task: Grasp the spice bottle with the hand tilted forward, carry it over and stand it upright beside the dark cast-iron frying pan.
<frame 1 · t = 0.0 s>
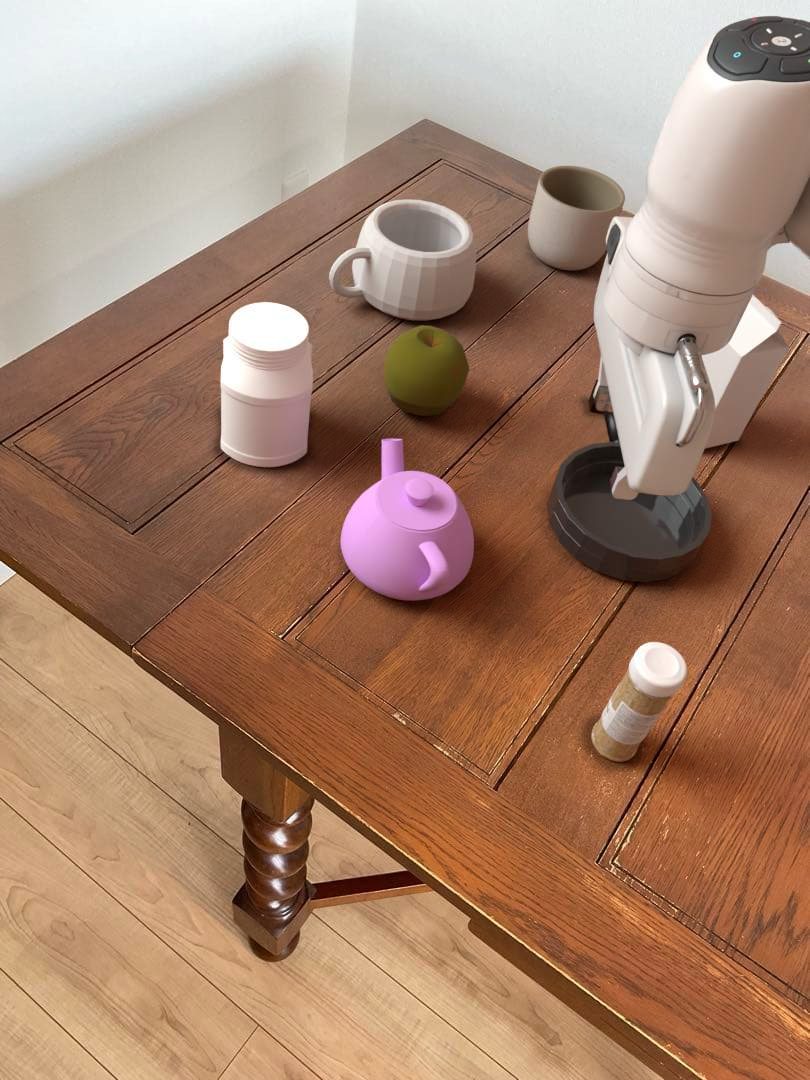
hand: (612, 447, 73), 29 cm above the table, tool pointing down, fingers open, 8 cm apart
milk carton: (698, 429, 123), on the table
planter: (561, 256, 145), on the table
pan: (621, 524, 110), on the table
pan handle: (604, 437, 119), on the table
mug: (395, 295, 132), on the table
jar: (264, 433, 111), on the table
apple: (418, 404, 118), on the table
spice bottle: (612, 743, 91), on the table
teapot: (402, 552, 102), on the table
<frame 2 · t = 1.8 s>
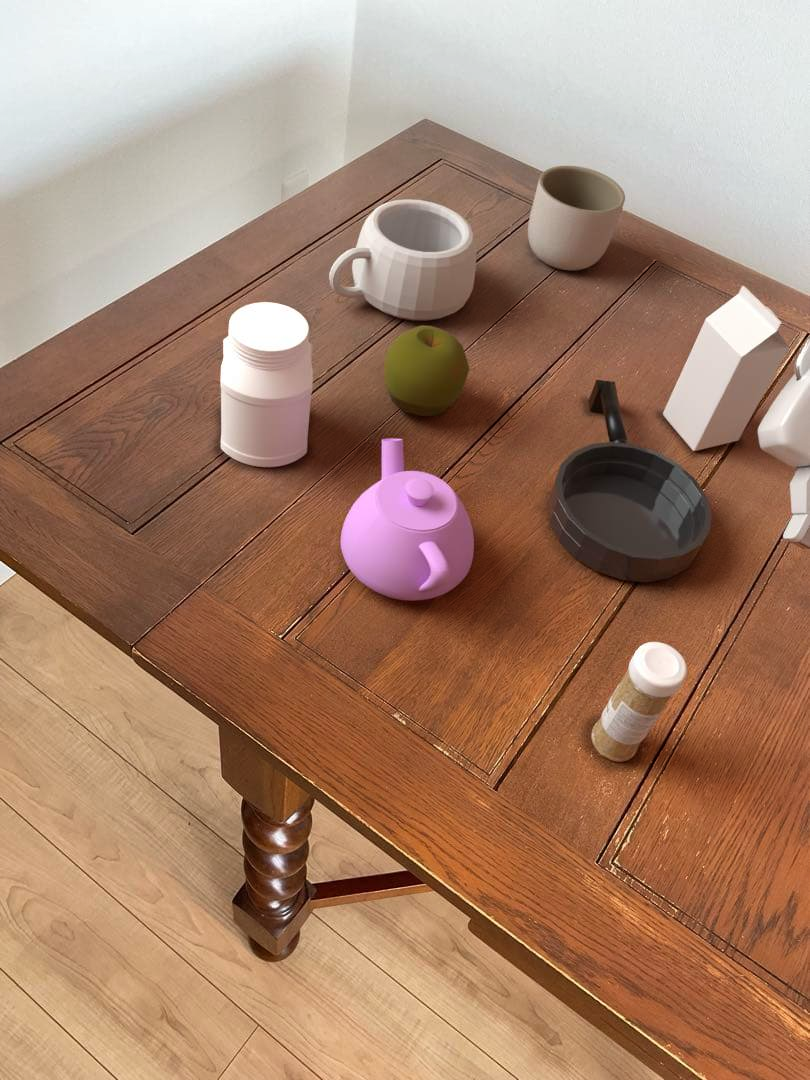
nothing on the table moved.
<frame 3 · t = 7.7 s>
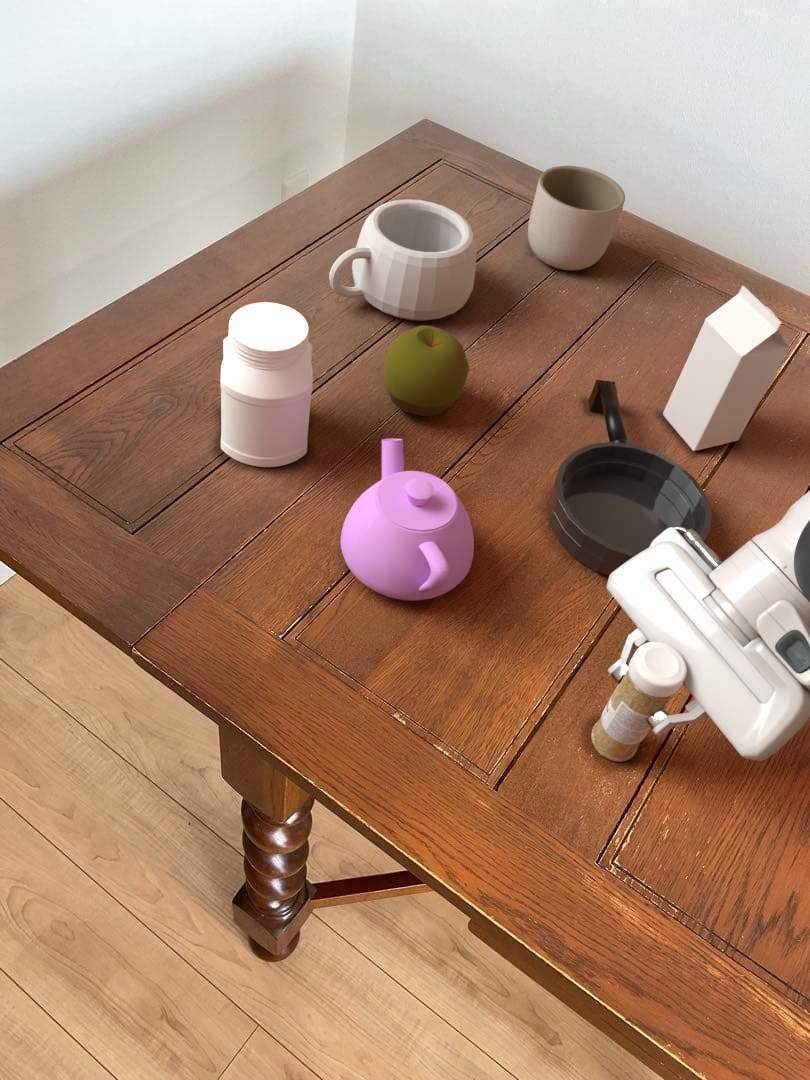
hand: (633, 703, 85), 7 cm above the table, tool tilted 45°, fingers closed on spice bottle, 4 cm apart
spice bottle: (612, 743, 91), on the table, touching gripper
everything else where it was.
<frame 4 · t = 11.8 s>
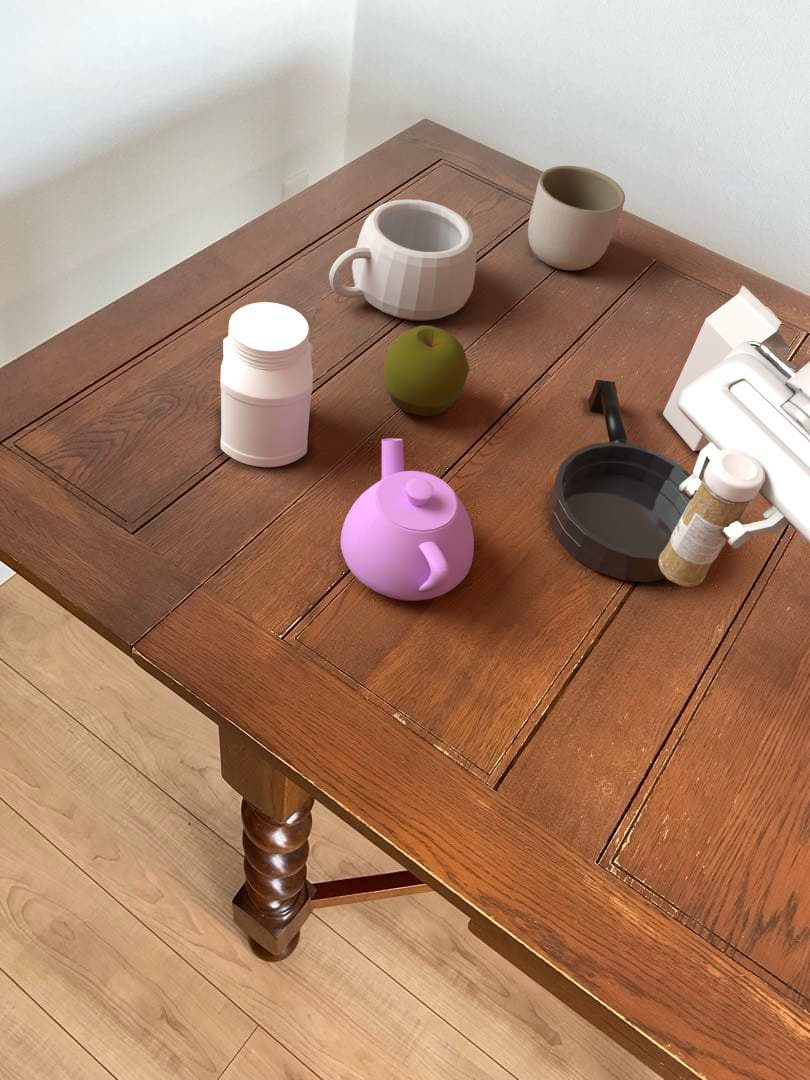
hand: (706, 518, 83), 20 cm above the table, tool tilted 45°, fingers closed on spice bottle, 4 cm apart
spice bottle: (680, 570, 89), point 13 cm above the table, touching gripper
everything else where it was.
when the fingers open (7 cm above the table, at t = 16.1 s): spice bottle stays where it is, on the table.
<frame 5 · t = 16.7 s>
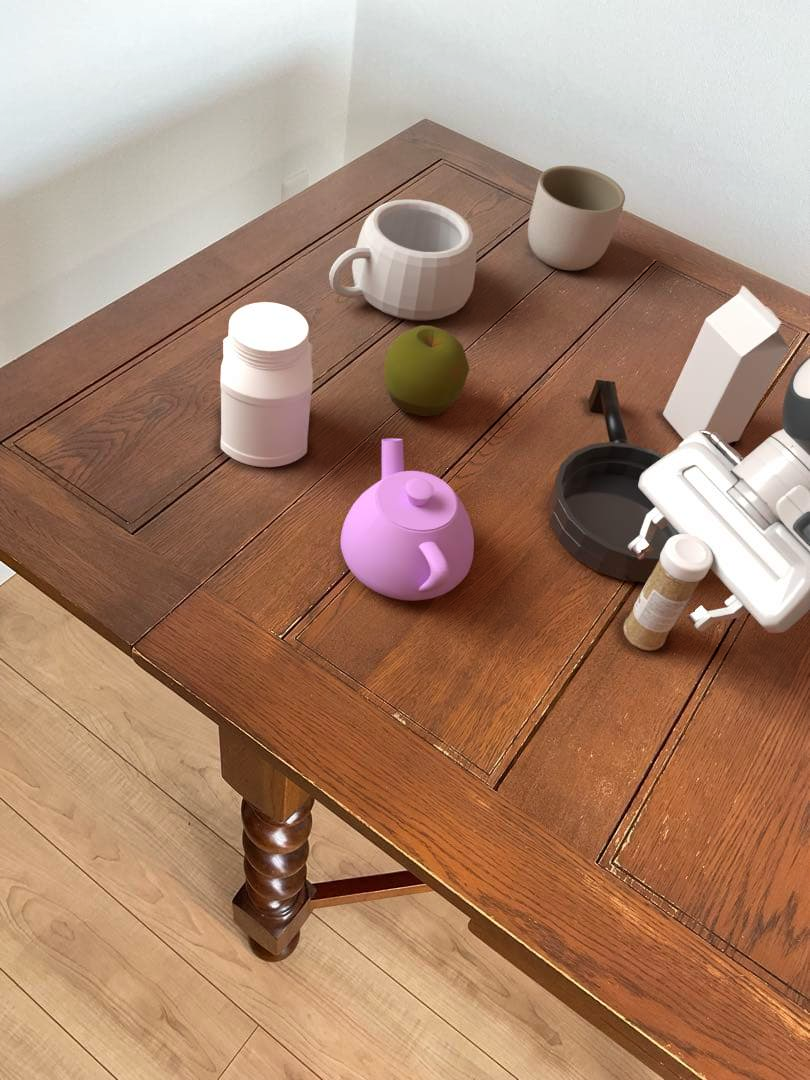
hand: (662, 588, 94), 8 cm above the table, tool tilted 45°, fingers open, 8 cm apart
spice bottle: (642, 635, 100), on the table
everything else where it was.
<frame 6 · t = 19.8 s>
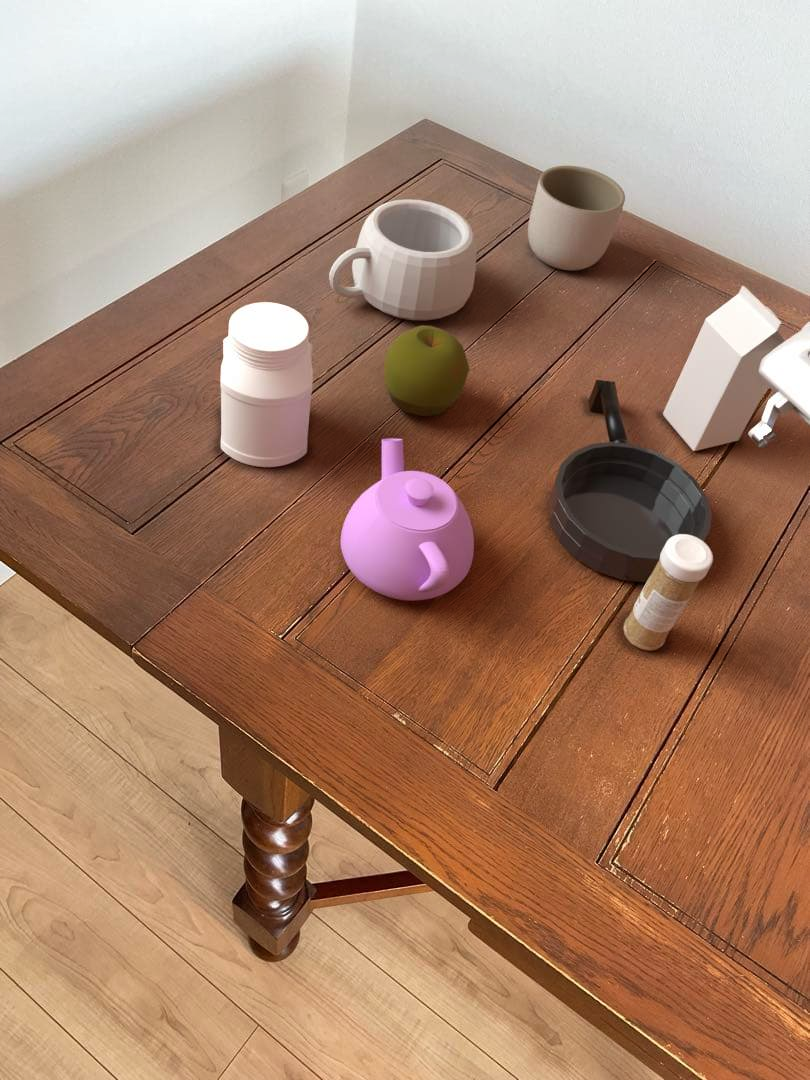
hand: (787, 474, 90), 19 cm above the table, tool tilted 45°, fingers open, 8 cm apart
nothing on the table moved.
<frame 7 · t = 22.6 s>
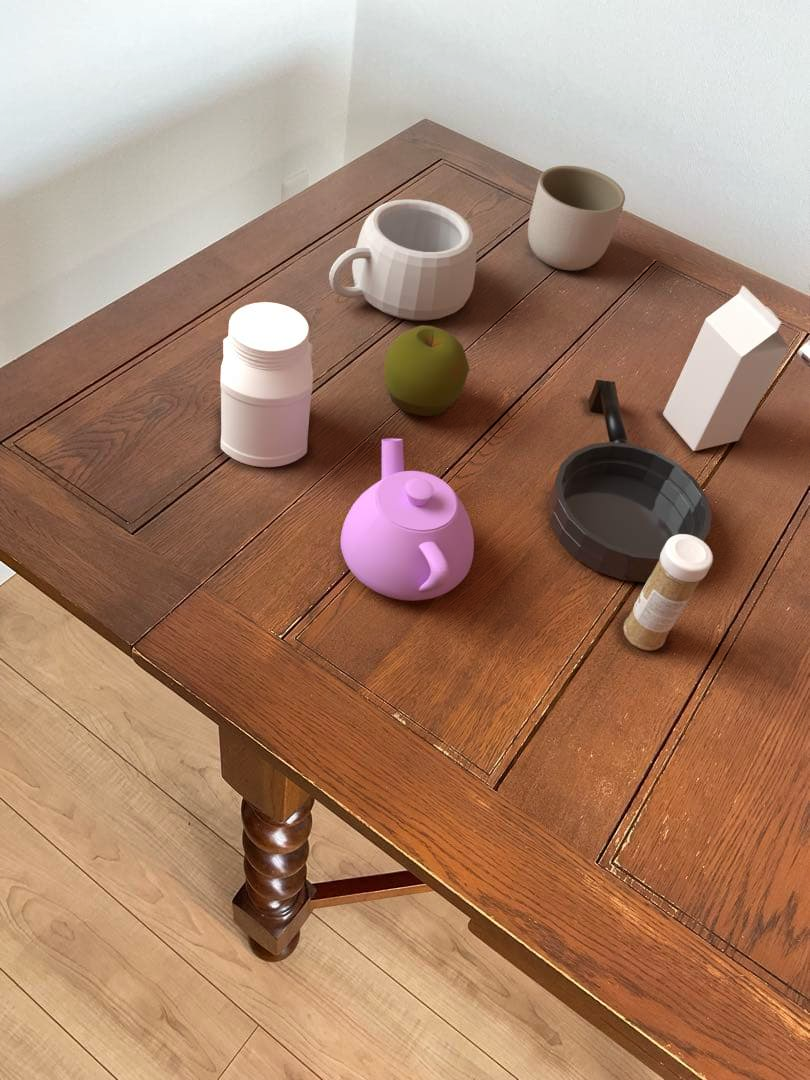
nothing on the table moved.
at the end: spice bottle inside the target area on the table beside the pan (0.2 cm from its centre), on the table; spice bottle tilted 0°; the gripper is holding nothing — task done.
